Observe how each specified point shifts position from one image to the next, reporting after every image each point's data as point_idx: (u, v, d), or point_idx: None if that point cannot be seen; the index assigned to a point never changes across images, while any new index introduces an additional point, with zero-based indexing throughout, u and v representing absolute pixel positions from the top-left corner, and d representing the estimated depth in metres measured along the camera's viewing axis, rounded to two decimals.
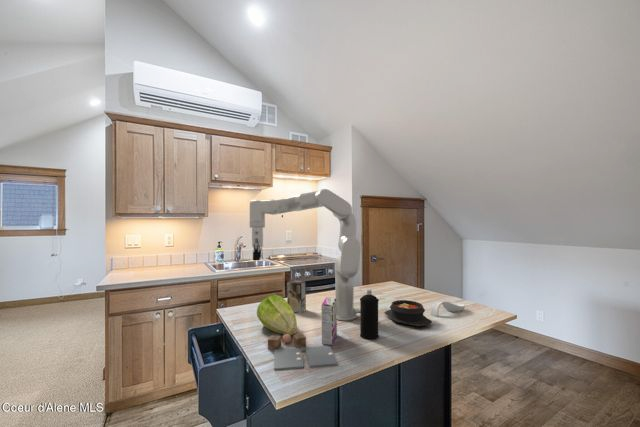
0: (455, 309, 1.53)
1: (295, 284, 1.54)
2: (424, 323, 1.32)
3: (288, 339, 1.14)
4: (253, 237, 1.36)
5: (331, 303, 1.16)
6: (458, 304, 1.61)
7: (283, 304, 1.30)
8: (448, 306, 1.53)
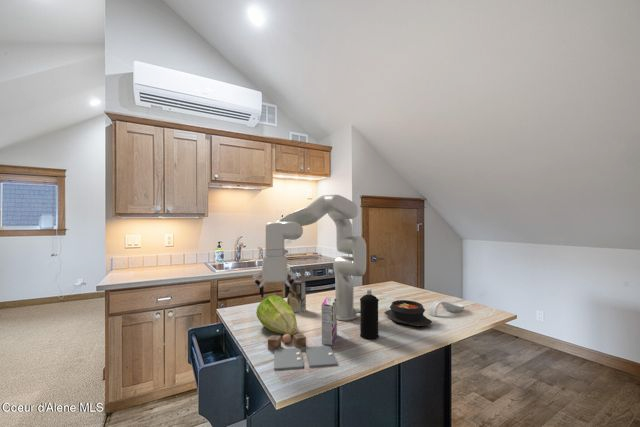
0: (454, 309, 1.53)
1: (295, 284, 1.54)
2: (424, 323, 1.32)
3: (288, 339, 1.14)
4: (287, 268, 1.12)
5: (331, 303, 1.16)
6: (458, 304, 1.60)
7: (282, 304, 1.30)
8: (447, 306, 1.53)
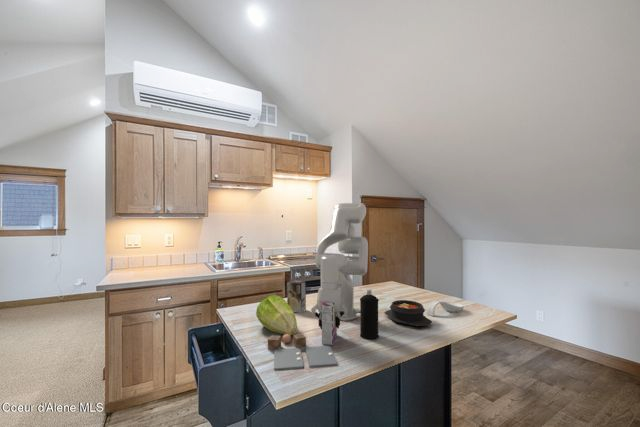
0: (453, 309, 1.52)
1: (295, 284, 1.54)
2: (424, 323, 1.32)
3: (288, 339, 1.14)
4: (341, 300, 1.19)
5: (331, 303, 1.16)
6: (457, 305, 1.60)
7: (282, 304, 1.30)
8: (446, 306, 1.53)
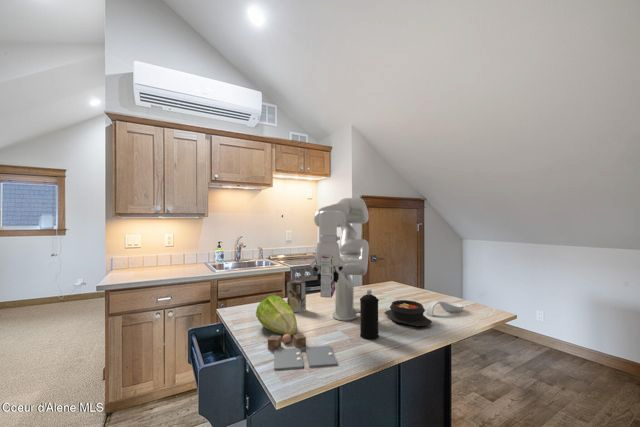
0: (452, 309, 1.52)
1: (295, 284, 1.54)
2: (424, 323, 1.32)
3: (288, 339, 1.14)
4: (339, 254, 1.18)
5: (330, 256, 1.16)
6: (457, 305, 1.59)
7: (282, 304, 1.29)
8: (445, 306, 1.53)
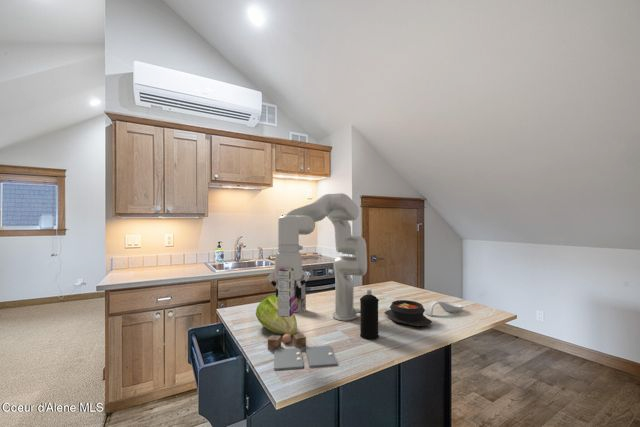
0: (452, 309, 1.52)
1: None
2: (424, 323, 1.32)
3: (288, 339, 1.14)
4: (301, 266, 1.02)
5: (289, 269, 1.00)
6: (457, 305, 1.59)
7: None
8: (444, 306, 1.53)
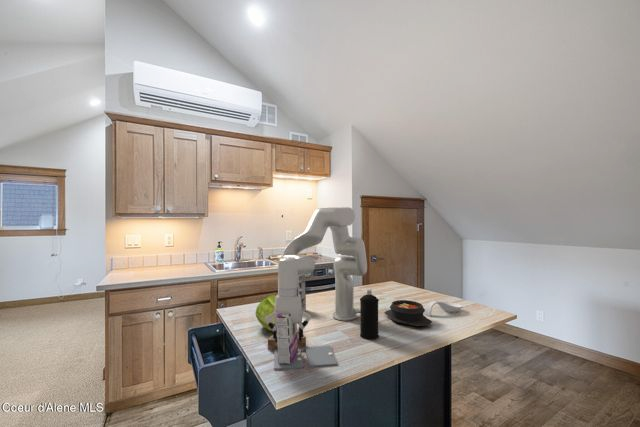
0: (451, 310, 1.52)
1: None
2: (424, 323, 1.32)
3: None
4: (301, 309, 1.02)
5: (287, 314, 1.00)
6: (456, 305, 1.59)
7: None
8: (443, 306, 1.53)
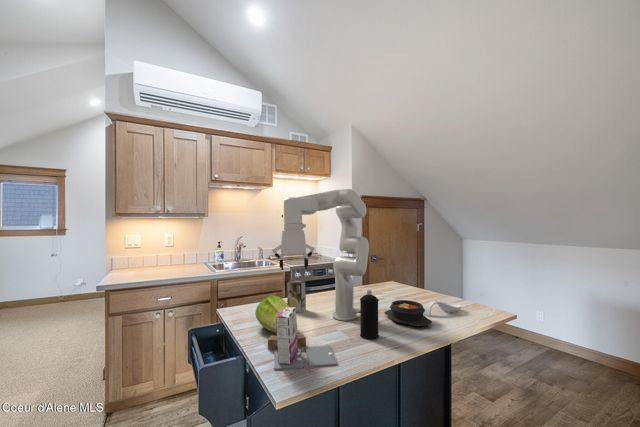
0: (450, 310, 1.52)
1: (295, 284, 1.54)
2: (424, 323, 1.32)
3: None
4: (305, 242, 1.15)
5: (288, 314, 1.00)
6: (455, 305, 1.59)
7: (282, 304, 1.29)
8: (443, 306, 1.52)
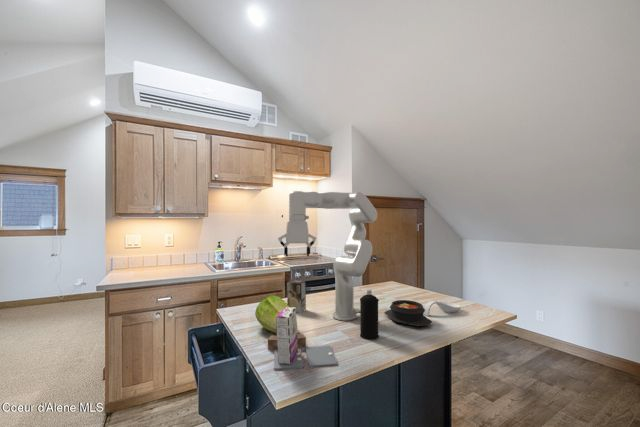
0: (449, 310, 1.52)
1: (295, 284, 1.54)
2: (424, 323, 1.32)
3: None
4: None
5: (288, 314, 1.00)
6: (455, 305, 1.58)
7: (282, 304, 1.29)
8: (442, 306, 1.52)
